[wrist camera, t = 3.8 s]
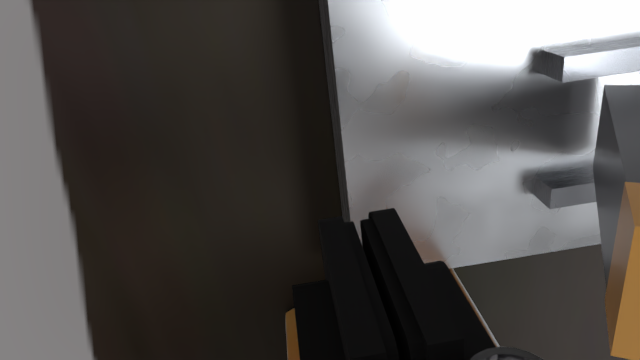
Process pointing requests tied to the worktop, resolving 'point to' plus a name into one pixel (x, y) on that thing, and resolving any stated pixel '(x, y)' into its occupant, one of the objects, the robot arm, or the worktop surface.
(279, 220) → the worktop surface
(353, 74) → the panel
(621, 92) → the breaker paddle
